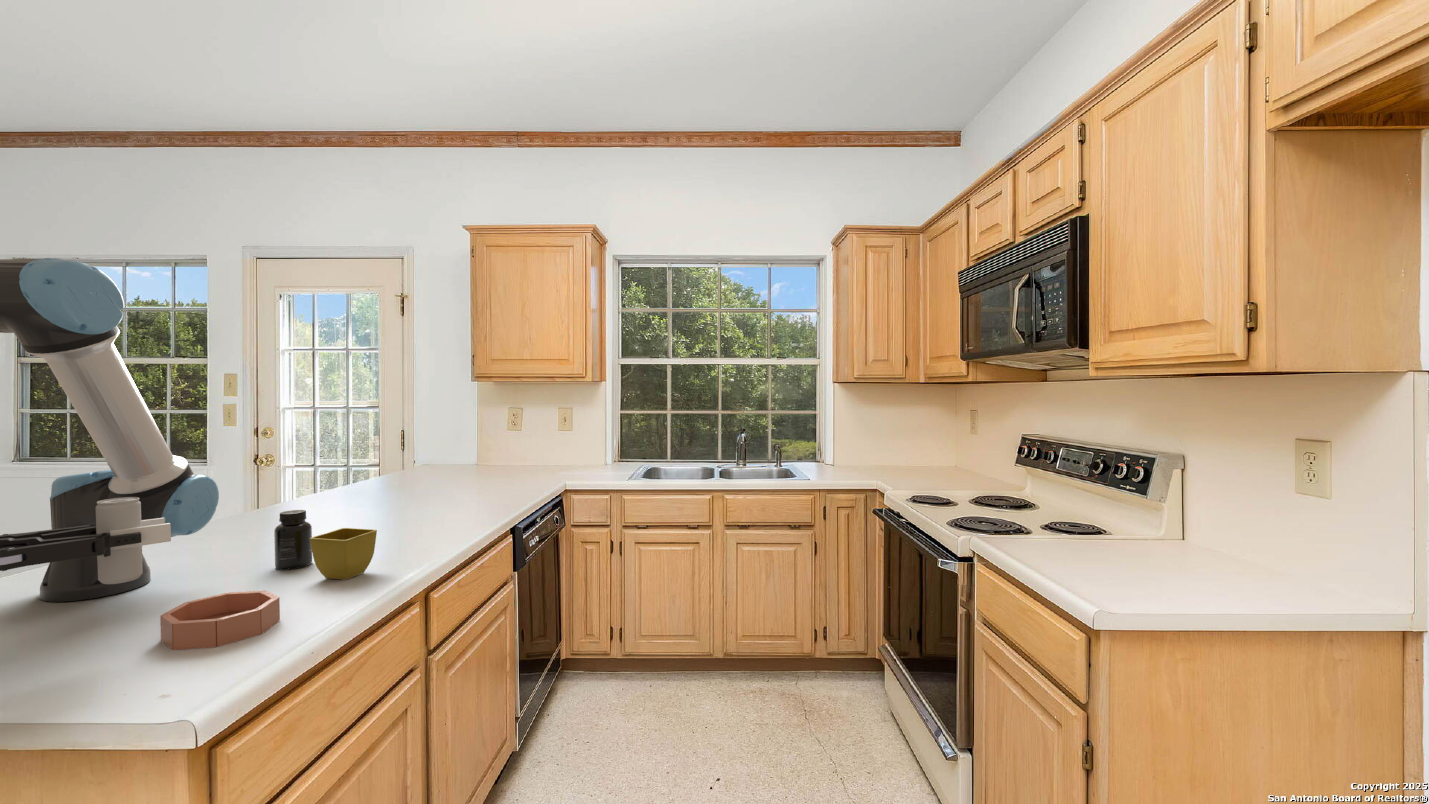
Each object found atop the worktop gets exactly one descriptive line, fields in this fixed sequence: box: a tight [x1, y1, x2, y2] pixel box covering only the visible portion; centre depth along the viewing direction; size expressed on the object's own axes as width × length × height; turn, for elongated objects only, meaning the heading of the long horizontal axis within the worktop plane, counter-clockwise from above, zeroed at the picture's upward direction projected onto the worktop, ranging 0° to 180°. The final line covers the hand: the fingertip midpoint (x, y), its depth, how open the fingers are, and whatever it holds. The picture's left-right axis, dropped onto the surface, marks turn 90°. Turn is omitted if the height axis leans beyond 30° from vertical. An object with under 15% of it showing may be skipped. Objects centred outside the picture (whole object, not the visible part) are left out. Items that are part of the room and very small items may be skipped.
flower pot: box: [310, 527, 378, 581], centre depth 127 cm, size 9×9×9 cm
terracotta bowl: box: [159, 590, 281, 651], centre depth 99 cm, size 14×14×4 cm
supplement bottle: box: [273, 509, 313, 570], centre depth 134 cm, size 7×7×12 cm
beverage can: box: [96, 497, 143, 584], centre depth 91 cm, size 5×5×12 cm
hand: (167, 529), depth 95 cm, fingers closed on beverage can, 5 cm apart
